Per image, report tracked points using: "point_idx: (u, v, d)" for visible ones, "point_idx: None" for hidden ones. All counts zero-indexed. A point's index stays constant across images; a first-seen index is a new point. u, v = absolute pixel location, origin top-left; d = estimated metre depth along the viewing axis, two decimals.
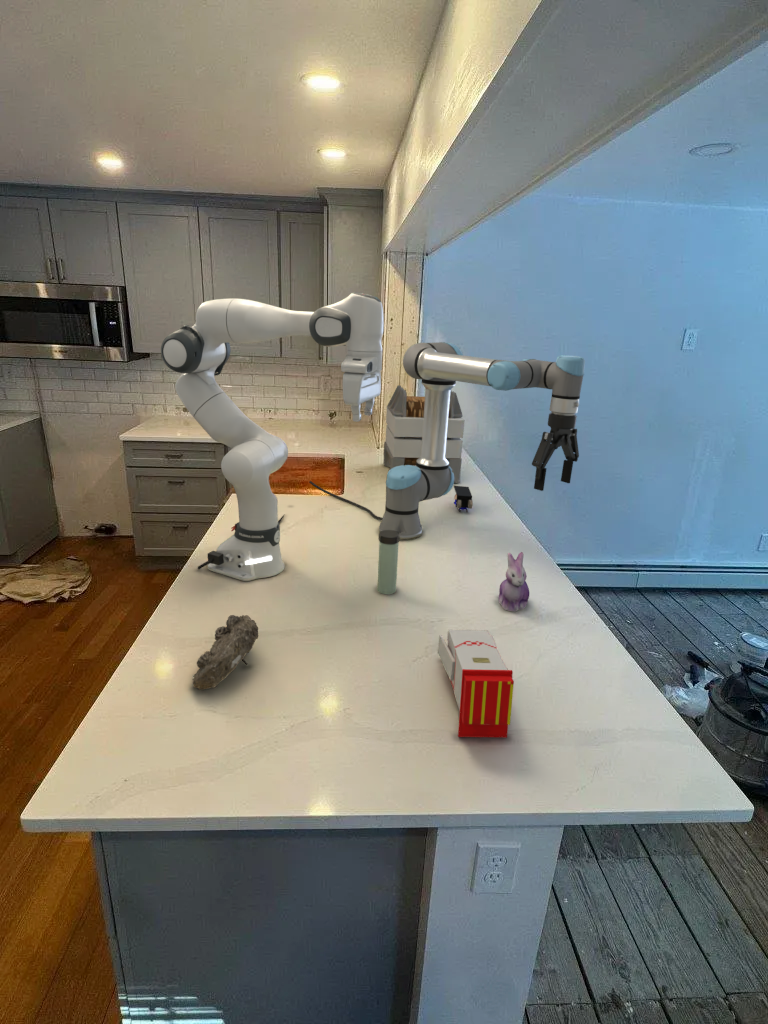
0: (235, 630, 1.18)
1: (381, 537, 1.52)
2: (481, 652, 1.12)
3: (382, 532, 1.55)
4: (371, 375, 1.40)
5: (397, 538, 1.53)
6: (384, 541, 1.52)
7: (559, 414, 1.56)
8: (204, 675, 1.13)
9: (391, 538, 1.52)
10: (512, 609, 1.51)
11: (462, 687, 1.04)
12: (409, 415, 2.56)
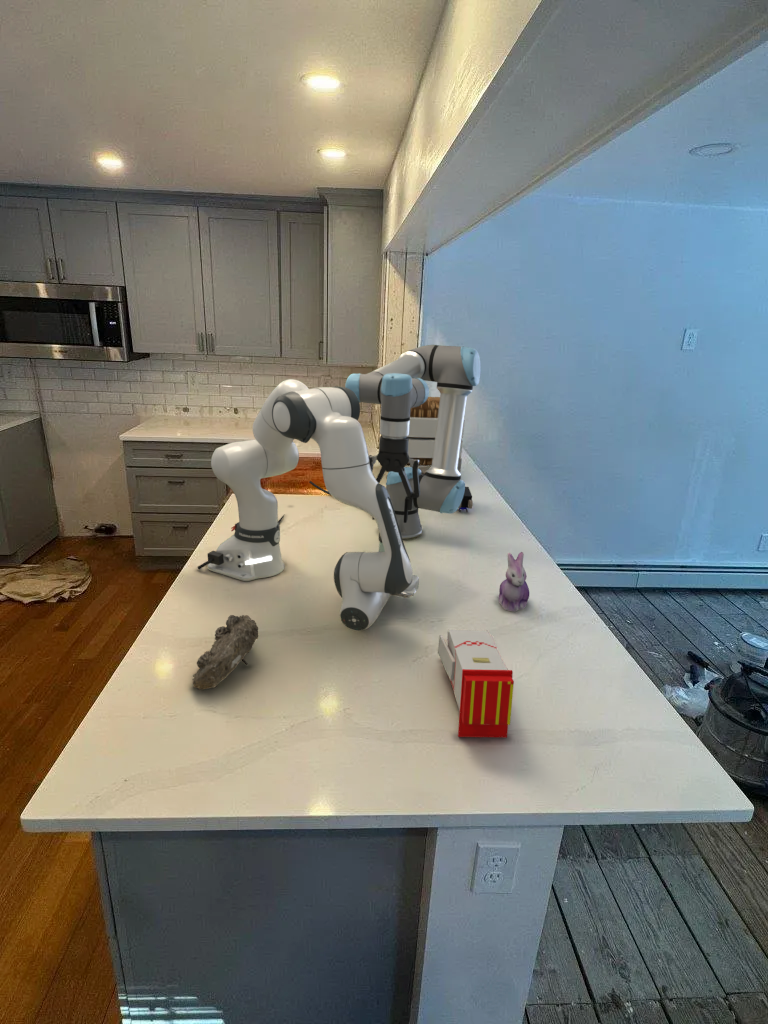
0: (235, 630, 1.18)
1: None
2: (481, 652, 1.12)
3: None
4: None
5: None
6: None
7: None
8: (204, 675, 1.13)
9: None
10: (512, 609, 1.51)
11: (462, 687, 1.04)
12: None
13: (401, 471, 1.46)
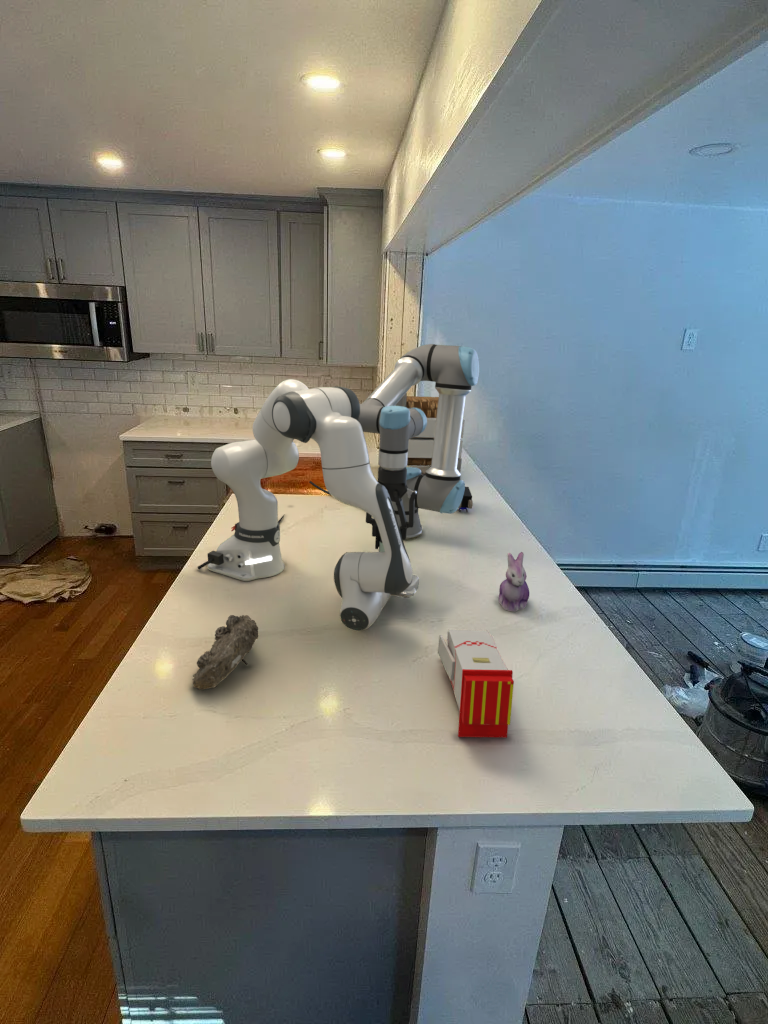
0: (235, 630, 1.18)
1: None
2: (481, 652, 1.12)
3: None
4: None
5: None
6: None
7: None
8: (204, 675, 1.13)
9: None
10: (512, 609, 1.51)
11: (462, 687, 1.04)
12: None
13: (398, 501, 1.49)
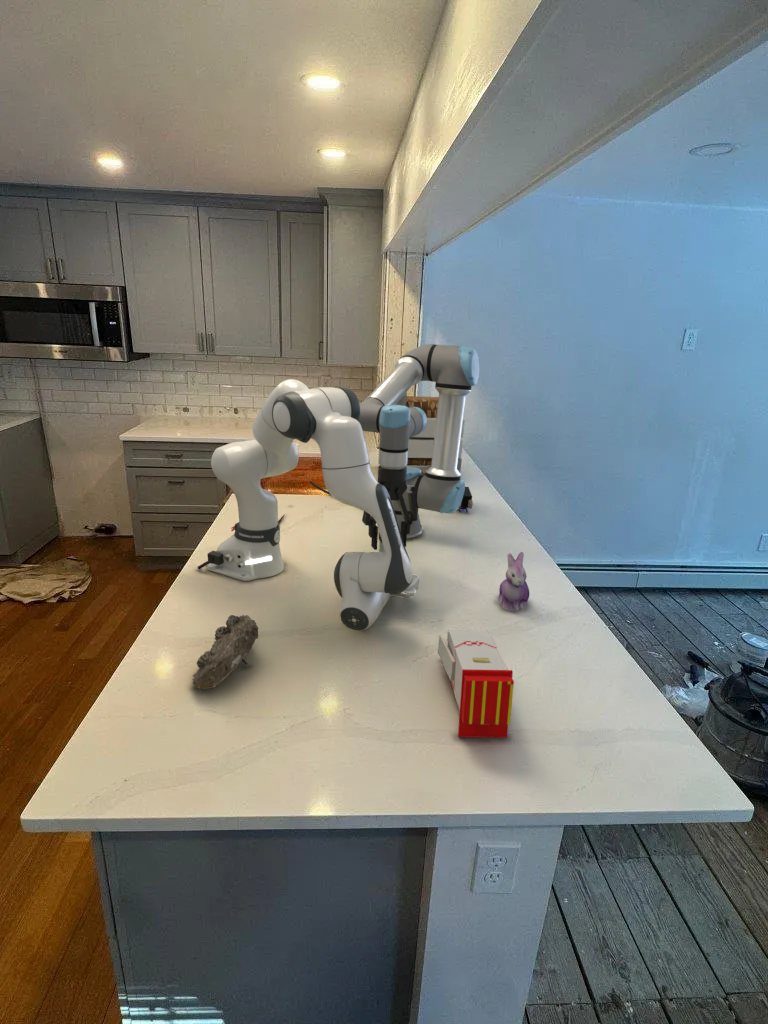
0: (235, 630, 1.18)
1: None
2: (481, 652, 1.12)
3: None
4: None
5: None
6: None
7: None
8: (204, 675, 1.13)
9: None
10: (512, 609, 1.51)
11: (462, 687, 1.04)
12: None
13: (402, 498, 1.50)
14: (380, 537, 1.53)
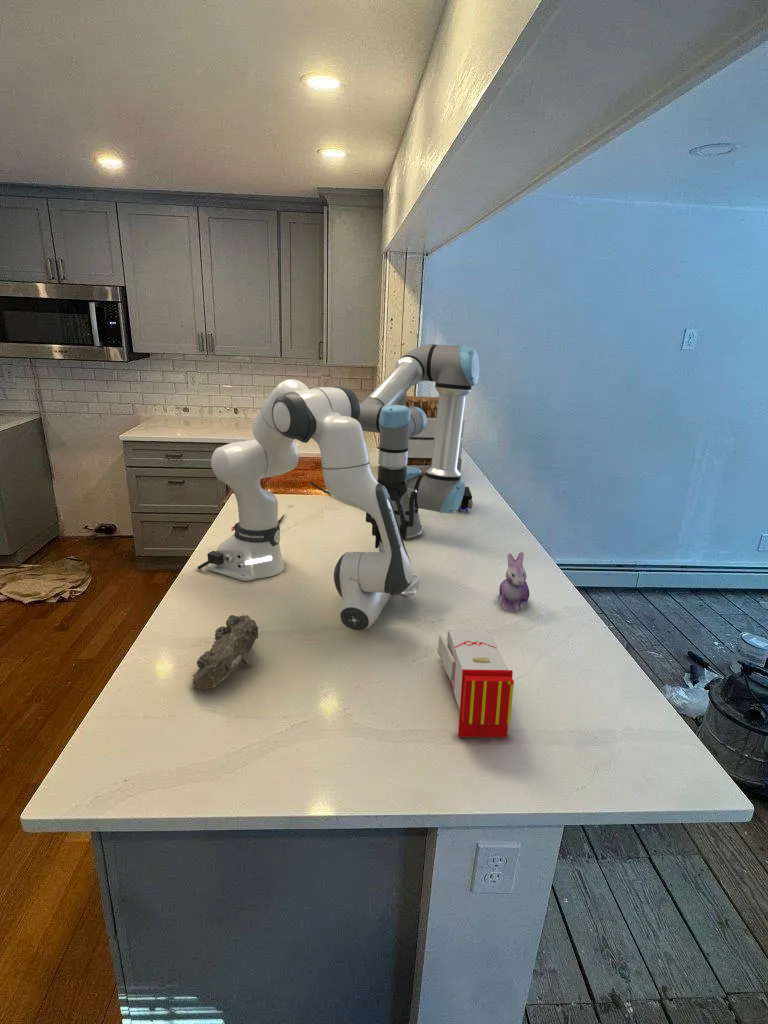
0: (235, 630, 1.18)
1: None
2: (481, 652, 1.12)
3: None
4: None
5: None
6: None
7: None
8: (204, 675, 1.13)
9: None
10: (512, 609, 1.51)
11: (462, 687, 1.04)
12: None
13: (398, 500, 1.49)
14: (380, 537, 1.53)
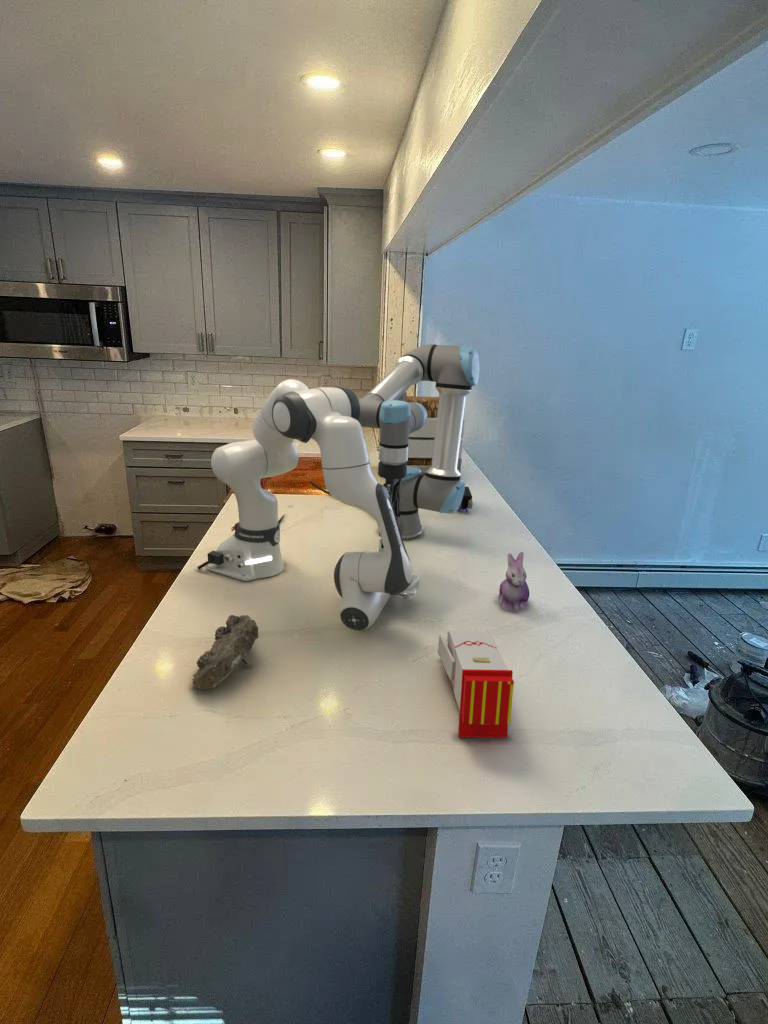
0: (235, 630, 1.18)
1: None
2: (481, 652, 1.12)
3: None
4: None
5: None
6: None
7: None
8: (204, 675, 1.13)
9: None
10: (512, 609, 1.51)
11: (462, 687, 1.04)
12: None
13: (399, 491, 1.52)
14: None
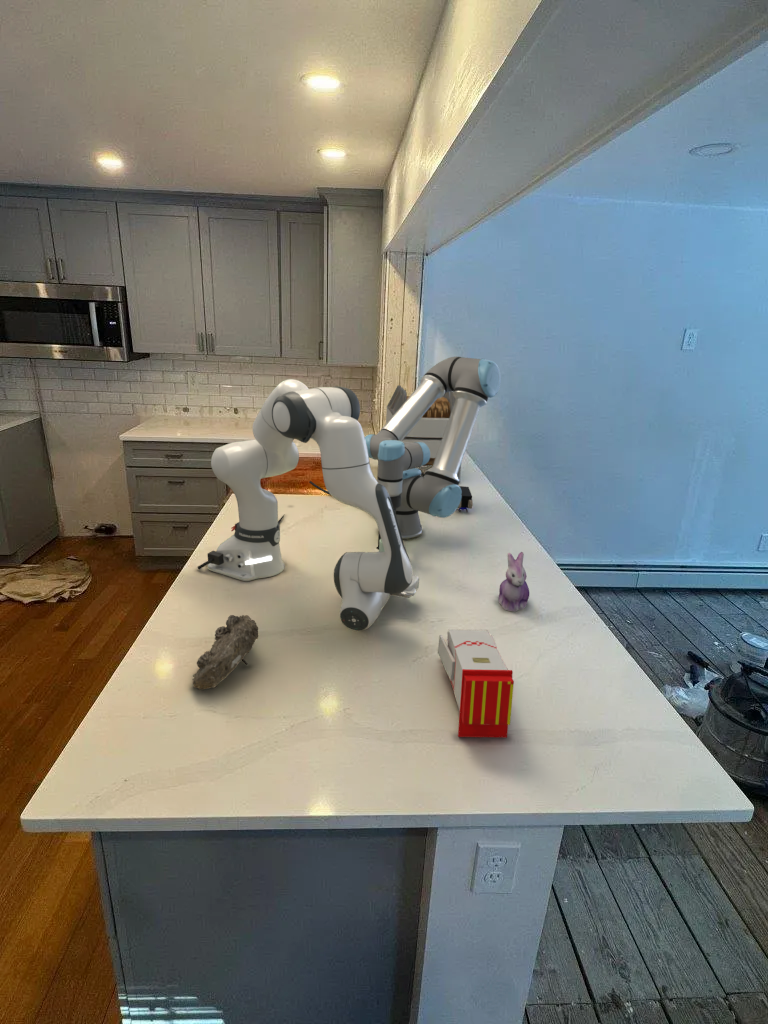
0: (235, 630, 1.18)
1: None
2: (481, 652, 1.12)
3: None
4: None
5: None
6: None
7: None
8: (204, 675, 1.13)
9: None
10: (512, 609, 1.51)
11: (462, 687, 1.04)
12: None
13: None
14: None
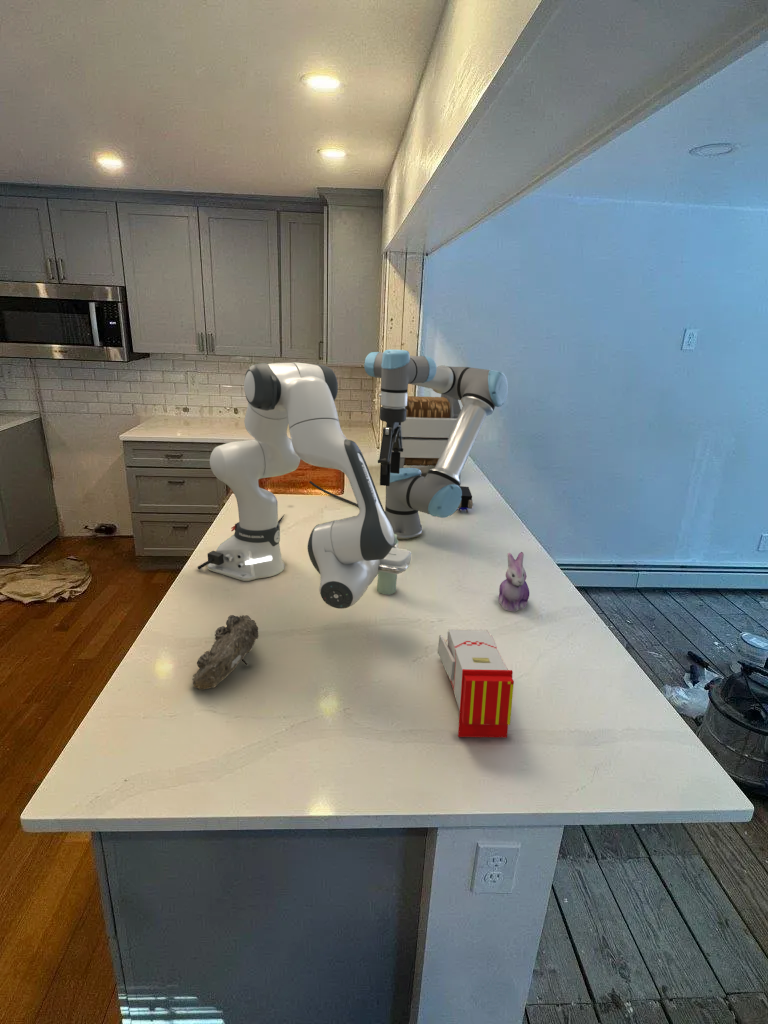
0: (235, 630, 1.18)
1: None
2: (481, 652, 1.12)
3: None
4: None
5: None
6: None
7: None
8: (204, 675, 1.13)
9: None
10: (512, 609, 1.51)
11: (462, 687, 1.04)
12: (409, 415, 2.56)
13: (400, 433, 1.65)
14: None
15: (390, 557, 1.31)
